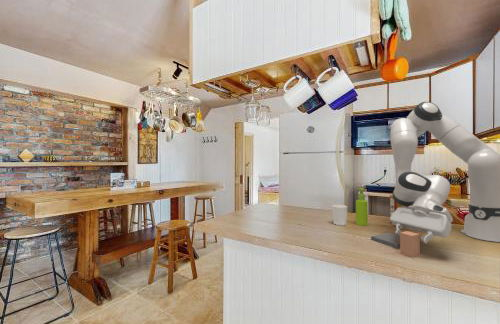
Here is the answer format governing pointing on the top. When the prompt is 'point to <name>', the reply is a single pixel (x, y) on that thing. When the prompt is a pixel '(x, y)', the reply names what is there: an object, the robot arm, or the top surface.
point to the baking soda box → (394, 207)
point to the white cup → (339, 214)
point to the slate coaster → (388, 239)
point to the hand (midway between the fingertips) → (409, 238)
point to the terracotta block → (410, 244)
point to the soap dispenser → (361, 209)
